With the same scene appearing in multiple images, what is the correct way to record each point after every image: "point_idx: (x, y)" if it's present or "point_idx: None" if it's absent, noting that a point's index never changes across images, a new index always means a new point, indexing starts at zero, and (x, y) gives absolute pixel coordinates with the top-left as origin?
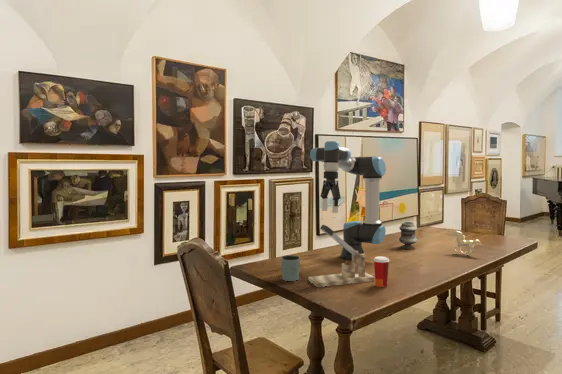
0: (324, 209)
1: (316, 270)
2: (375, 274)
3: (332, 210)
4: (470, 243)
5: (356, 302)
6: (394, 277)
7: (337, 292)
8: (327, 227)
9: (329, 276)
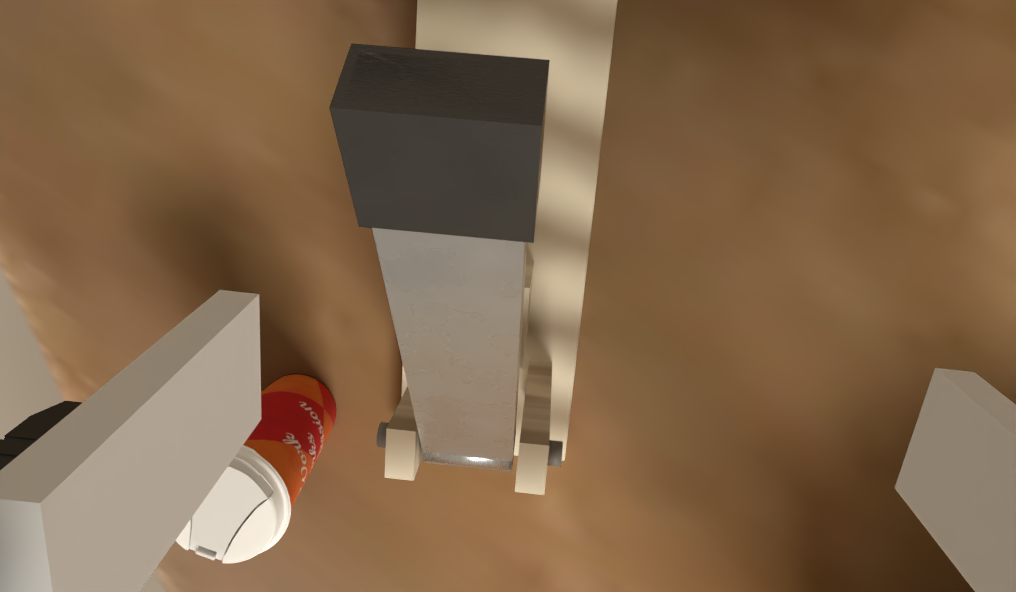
0: (935, 437)
1: (852, 197)
2: (274, 403)
3: (229, 316)
4: None
5: (51, 68)
6: (420, 580)
7: (270, 57)
8: (337, 110)
9: (552, 158)
